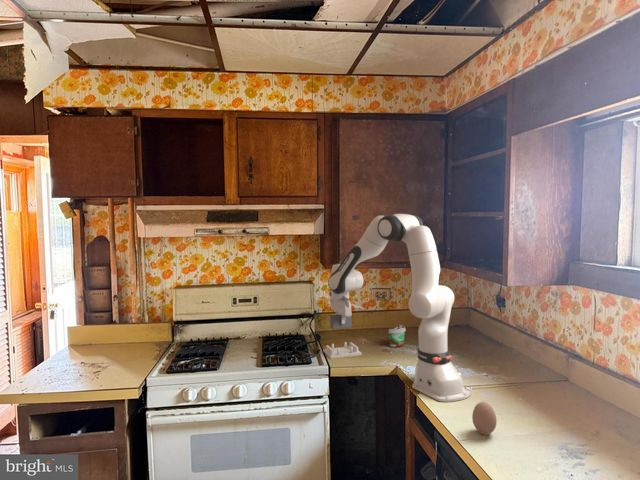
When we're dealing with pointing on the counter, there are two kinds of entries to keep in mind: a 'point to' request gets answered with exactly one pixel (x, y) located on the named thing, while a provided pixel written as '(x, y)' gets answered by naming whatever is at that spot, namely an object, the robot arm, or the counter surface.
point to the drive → (340, 322)
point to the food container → (397, 336)
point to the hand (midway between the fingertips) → (340, 322)
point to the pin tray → (342, 351)
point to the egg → (484, 418)
